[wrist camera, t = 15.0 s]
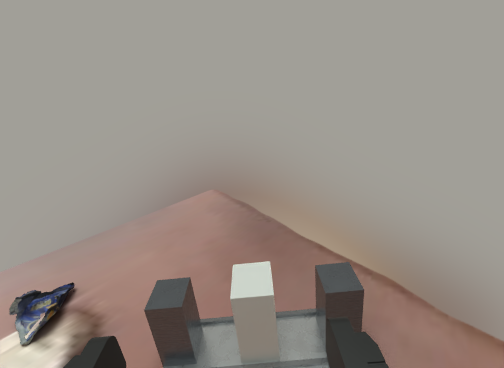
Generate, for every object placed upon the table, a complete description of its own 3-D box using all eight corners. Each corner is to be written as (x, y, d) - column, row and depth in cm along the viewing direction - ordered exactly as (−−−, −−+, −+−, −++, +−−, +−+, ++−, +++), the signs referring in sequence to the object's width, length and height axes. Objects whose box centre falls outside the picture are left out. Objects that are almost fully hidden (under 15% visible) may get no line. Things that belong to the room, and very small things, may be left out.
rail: (163, 395, 34) (137, 324, 30) (179, 333, 43) (161, 270, 38) (365, 378, 34) (371, 303, 29) (341, 318, 42) (343, 253, 37)
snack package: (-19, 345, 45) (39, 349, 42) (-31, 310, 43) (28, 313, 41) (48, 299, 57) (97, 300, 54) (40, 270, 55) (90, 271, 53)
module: (241, 363, 34) (230, 298, 30) (242, 323, 40) (233, 264, 36) (279, 360, 34) (273, 295, 30) (275, 320, 40) (269, 260, 36)
